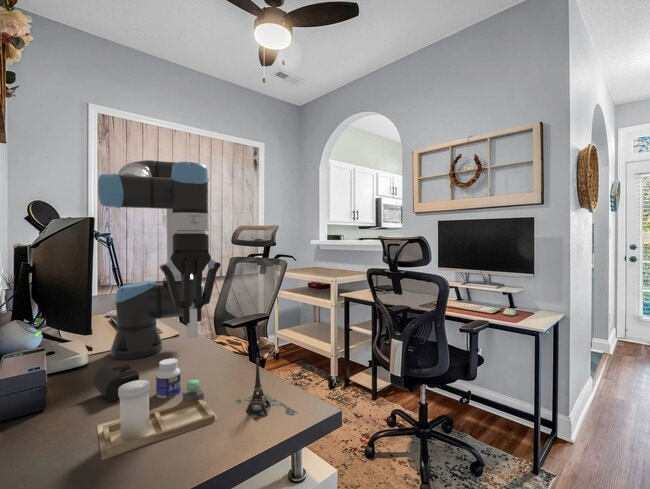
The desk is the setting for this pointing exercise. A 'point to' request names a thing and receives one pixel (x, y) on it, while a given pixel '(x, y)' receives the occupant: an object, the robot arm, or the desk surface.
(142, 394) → the seated billet
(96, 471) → the desk surface
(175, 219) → the robot arm
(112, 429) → the wooden compartment tray
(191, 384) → the button
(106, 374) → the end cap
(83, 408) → the desk surface
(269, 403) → the eiffel tower figurine
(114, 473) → the desk surface
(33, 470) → the desk surface
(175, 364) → the pill bottle
